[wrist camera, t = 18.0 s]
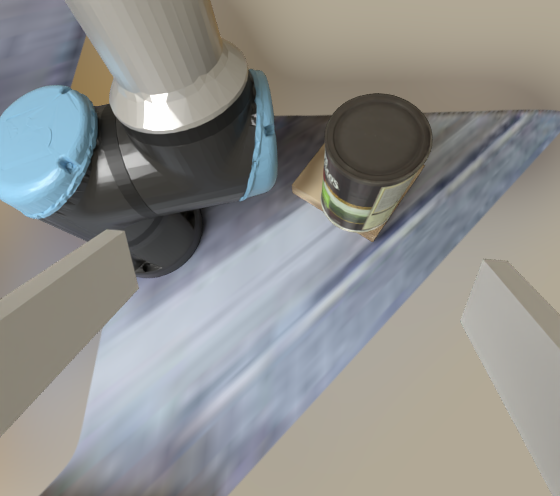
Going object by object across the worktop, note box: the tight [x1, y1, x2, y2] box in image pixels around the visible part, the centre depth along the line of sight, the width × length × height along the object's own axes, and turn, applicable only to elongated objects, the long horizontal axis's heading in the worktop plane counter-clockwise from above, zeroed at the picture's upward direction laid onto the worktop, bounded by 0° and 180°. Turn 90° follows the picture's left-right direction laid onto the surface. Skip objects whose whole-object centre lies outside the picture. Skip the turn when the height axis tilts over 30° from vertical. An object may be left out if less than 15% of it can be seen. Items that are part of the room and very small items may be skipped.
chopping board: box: [292, 143, 425, 242], centre depth 46 cm, size 14×13×2 cm
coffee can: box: [321, 93, 433, 233], centre depth 37 cm, size 10×10×14 cm
